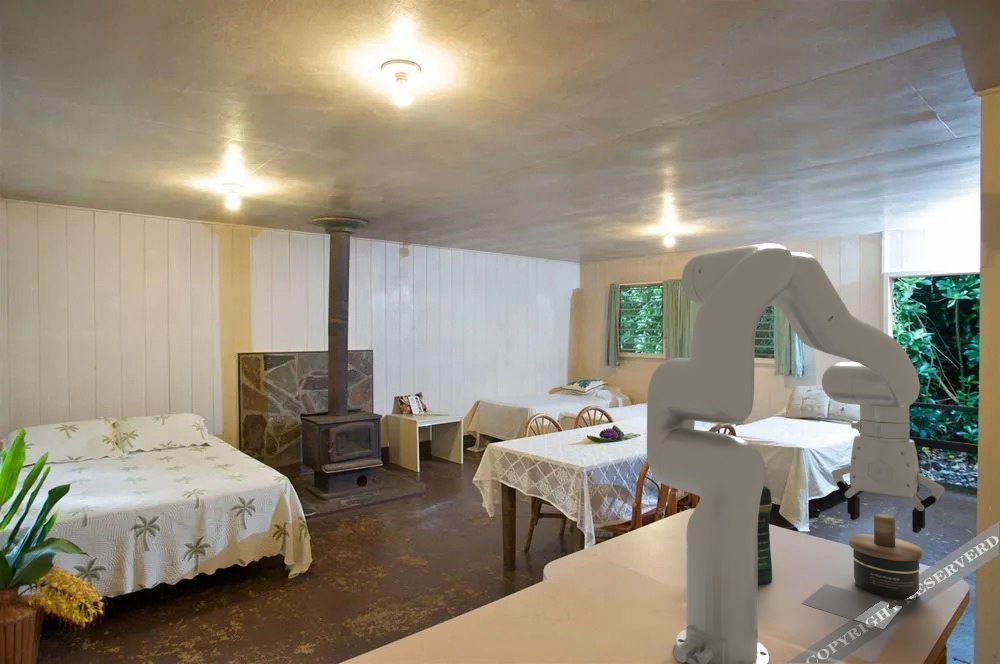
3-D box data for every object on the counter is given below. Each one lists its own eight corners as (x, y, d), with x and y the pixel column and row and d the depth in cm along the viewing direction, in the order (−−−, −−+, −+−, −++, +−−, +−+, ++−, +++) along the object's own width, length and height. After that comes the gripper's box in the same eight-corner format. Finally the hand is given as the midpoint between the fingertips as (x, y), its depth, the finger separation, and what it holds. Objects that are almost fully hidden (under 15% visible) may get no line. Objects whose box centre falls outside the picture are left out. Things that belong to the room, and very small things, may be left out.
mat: (884, 633, 88) (884, 629, 88) (801, 606, 97) (801, 603, 97) (903, 609, 96) (903, 606, 96) (825, 587, 105) (825, 583, 105)
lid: (913, 566, 96) (913, 530, 96) (840, 548, 104) (840, 515, 104) (928, 550, 103) (928, 517, 103) (859, 535, 111) (859, 504, 111)
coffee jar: (780, 585, 106) (780, 485, 106) (745, 590, 103) (745, 487, 104) (743, 565, 115) (743, 473, 115) (710, 570, 112) (710, 476, 113)
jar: (854, 576, 110) (854, 536, 110) (918, 589, 104) (918, 547, 105) (851, 594, 102) (851, 552, 102) (921, 610, 96) (920, 564, 96)
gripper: (825, 427, 108) (825, 518, 107) (938, 438, 95) (939, 541, 94) (838, 423, 113) (838, 510, 112) (947, 434, 100) (948, 532, 100)
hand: (884, 524), depth 103 cm, fingers open, 9 cm apart
